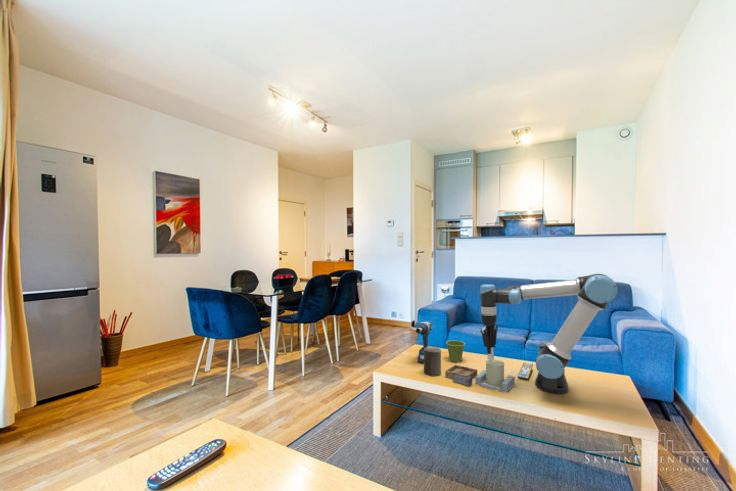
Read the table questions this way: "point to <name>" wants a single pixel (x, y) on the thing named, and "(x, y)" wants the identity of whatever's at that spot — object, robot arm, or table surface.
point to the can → (494, 372)
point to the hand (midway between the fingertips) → (490, 359)
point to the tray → (460, 372)
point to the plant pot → (455, 350)
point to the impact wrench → (424, 337)
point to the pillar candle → (432, 361)
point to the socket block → (505, 386)
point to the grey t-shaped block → (462, 380)
